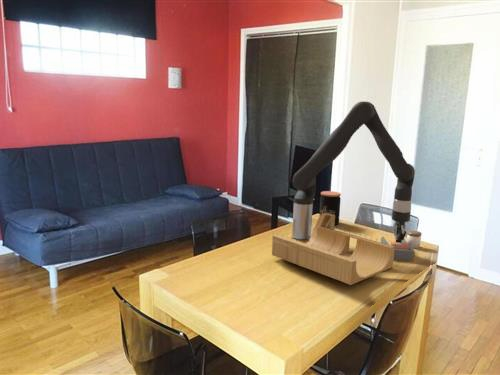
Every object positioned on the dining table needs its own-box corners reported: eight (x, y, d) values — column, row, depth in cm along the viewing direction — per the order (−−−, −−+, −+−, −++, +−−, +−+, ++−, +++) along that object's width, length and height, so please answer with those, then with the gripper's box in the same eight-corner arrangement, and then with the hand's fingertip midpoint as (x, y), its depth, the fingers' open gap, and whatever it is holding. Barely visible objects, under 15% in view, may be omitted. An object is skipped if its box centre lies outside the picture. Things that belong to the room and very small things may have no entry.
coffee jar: (315, 223, 239) (317, 191, 236) (331, 222, 244) (333, 190, 240) (326, 228, 230) (328, 195, 226) (342, 226, 234) (345, 194, 231)
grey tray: (388, 259, 185) (389, 249, 184) (380, 245, 204) (381, 236, 203) (413, 260, 184) (414, 251, 183) (402, 246, 202) (403, 237, 202)
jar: (407, 248, 201) (409, 233, 199) (404, 244, 207) (405, 230, 205) (421, 249, 200) (423, 234, 199) (417, 245, 206) (419, 231, 205)
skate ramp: (271, 257, 184) (272, 220, 181) (323, 241, 208) (325, 209, 205) (350, 287, 155) (353, 244, 152) (400, 265, 179) (404, 228, 176)
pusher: (391, 255, 187) (392, 243, 186) (389, 254, 190) (391, 242, 189) (408, 256, 187) (409, 244, 186) (406, 255, 189) (408, 243, 188)
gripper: (389, 205, 195) (386, 242, 198) (396, 212, 182) (392, 252, 185) (406, 206, 194) (403, 243, 197) (414, 213, 181) (410, 253, 184)
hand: (397, 247), depth 191 cm, fingers closed
